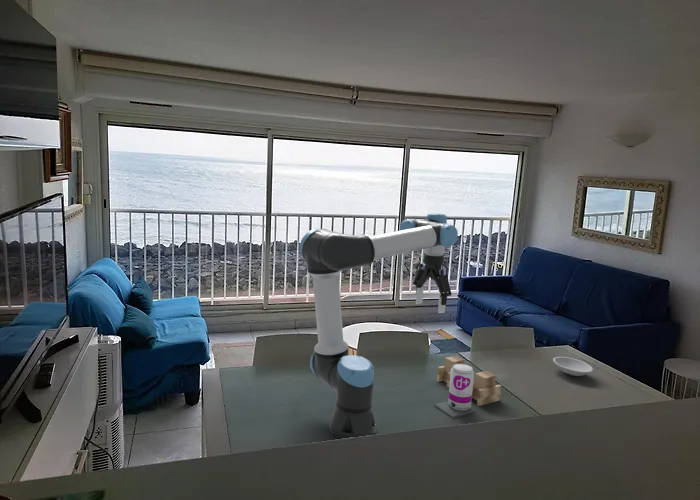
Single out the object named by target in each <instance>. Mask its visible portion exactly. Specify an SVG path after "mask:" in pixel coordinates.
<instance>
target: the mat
mask: <svg viewBox="0 0 700 500" xmlns="http://www.w3.org/2000/svg"><path fill="white" fill-rule="evenodd" d="M433 406H434V407H435V408H437V409H439V410H440V411H441V412H442V413H444V414H446V416H449V417H451V419H454V418H460V417H463V416H466V415H469V414H474V413H475V411H474V410H473V409H471V407H470V408H469V409H468V410H465V411H459V410H455V409H453V408H451V407H450V405H449V404H448V400H446V401H443V402H440V403H439V402H438V403H434V404H433Z"/></svg>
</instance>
